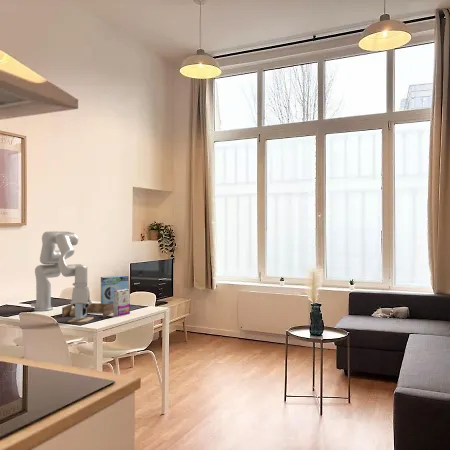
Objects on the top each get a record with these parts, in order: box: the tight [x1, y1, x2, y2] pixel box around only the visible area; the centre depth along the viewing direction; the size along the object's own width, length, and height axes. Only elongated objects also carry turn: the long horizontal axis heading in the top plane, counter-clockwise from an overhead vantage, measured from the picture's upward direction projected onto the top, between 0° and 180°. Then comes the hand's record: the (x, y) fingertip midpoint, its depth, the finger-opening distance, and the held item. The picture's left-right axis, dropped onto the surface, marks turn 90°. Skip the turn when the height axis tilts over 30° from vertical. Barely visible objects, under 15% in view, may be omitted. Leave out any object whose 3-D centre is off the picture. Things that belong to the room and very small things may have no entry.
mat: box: [67, 316, 94, 323], centre depth 290 cm, size 12×13×1 cm
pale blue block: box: [74, 303, 88, 319], centre depth 290 cm, size 4×10×9 cm, turn 176°
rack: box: [61, 302, 113, 318], centre depth 308 cm, size 28×18×6 cm, turn 86°
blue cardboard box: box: [100, 274, 129, 304], centre depth 333 cm, size 20×5×23 cm, turn 123°
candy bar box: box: [112, 288, 131, 317], centre depth 308 cm, size 11×5×16 cm, turn 148°
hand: (80, 314), depth 290 cm, fingers closed on pale blue block, 3 cm apart
